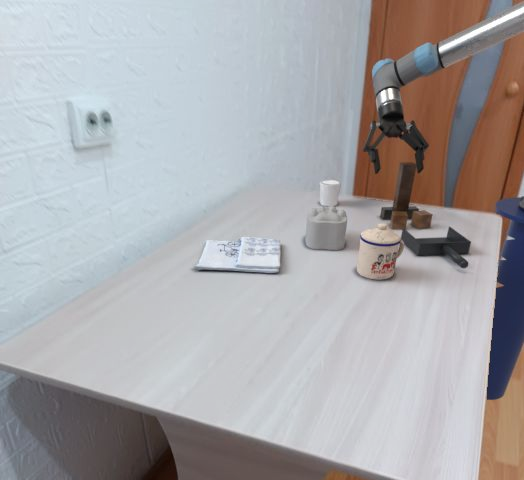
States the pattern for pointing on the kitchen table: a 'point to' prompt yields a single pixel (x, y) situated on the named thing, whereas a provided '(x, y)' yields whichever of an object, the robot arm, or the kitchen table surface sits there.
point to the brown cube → (398, 220)
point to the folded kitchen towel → (241, 255)
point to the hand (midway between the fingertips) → (399, 171)
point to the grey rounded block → (326, 228)
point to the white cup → (329, 192)
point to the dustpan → (440, 246)
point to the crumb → (421, 219)
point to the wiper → (402, 192)
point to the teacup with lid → (379, 252)
